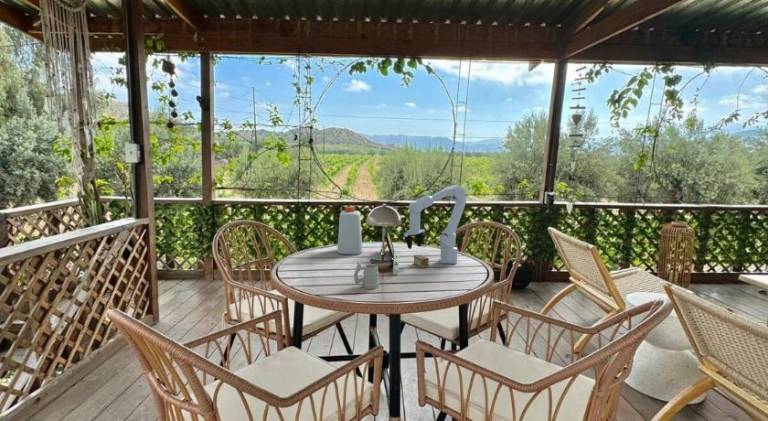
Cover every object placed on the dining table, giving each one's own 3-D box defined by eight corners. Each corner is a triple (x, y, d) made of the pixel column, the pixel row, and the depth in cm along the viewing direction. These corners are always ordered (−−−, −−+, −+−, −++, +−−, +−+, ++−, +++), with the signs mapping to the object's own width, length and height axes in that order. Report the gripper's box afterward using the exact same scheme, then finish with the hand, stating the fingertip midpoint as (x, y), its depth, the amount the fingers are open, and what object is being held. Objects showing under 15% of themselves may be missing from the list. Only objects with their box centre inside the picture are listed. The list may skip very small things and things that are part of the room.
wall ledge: (398, 260, 218) (398, 252, 218) (397, 274, 193) (398, 266, 192) (394, 259, 219) (394, 252, 218) (393, 274, 193) (393, 266, 192)
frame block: (420, 263, 214) (420, 254, 213) (428, 267, 207) (428, 258, 206) (413, 264, 212) (413, 255, 211) (421, 268, 205) (421, 259, 204)
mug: (380, 288, 173) (380, 263, 172) (354, 290, 172) (354, 264, 170) (377, 283, 181) (378, 259, 179) (353, 284, 179) (353, 259, 177)
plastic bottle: (362, 248, 242) (362, 205, 237) (362, 255, 227) (362, 209, 223) (338, 248, 241) (338, 205, 237) (336, 255, 226) (336, 209, 222)
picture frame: (394, 260, 217) (391, 235, 214) (378, 262, 217) (375, 236, 215) (393, 249, 239) (391, 227, 237) (379, 251, 240) (377, 228, 237)
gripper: (418, 220, 216) (417, 243, 218) (400, 224, 206) (400, 248, 209) (427, 222, 211) (427, 246, 213) (409, 226, 201) (409, 250, 204)
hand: (414, 247), depth 211 cm, fingers open, 7 cm apart
